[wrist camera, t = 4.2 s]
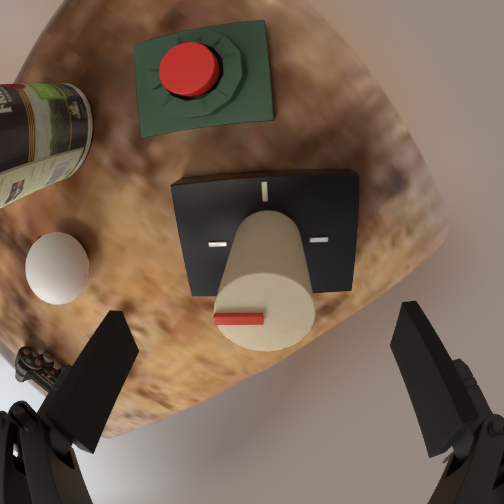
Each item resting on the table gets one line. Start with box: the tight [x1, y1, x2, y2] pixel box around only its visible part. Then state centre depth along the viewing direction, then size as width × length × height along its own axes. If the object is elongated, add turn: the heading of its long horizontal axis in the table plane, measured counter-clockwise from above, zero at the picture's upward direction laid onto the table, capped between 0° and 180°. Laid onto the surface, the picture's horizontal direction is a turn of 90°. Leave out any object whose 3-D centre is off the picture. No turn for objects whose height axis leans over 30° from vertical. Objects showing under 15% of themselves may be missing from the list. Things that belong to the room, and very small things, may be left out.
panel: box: [171, 169, 359, 296], centre depth 23 cm, size 14×10×3 cm
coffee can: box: [0, 83, 93, 208], centre depth 14 cm, size 10×10×14 cm
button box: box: [134, 20, 274, 137], centre depth 17 cm, size 10×8×4 cm
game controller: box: [15, 346, 67, 393], centre depth 34 cm, size 16×7×10 cm, turn 49°
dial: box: [214, 211, 316, 351], centre depth 17 cm, size 5×5×9 cm
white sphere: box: [26, 232, 90, 307], centre depth 23 cm, size 10×7×7 cm
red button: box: [159, 42, 220, 96], centre depth 14 cm, size 4×4×2 cm
